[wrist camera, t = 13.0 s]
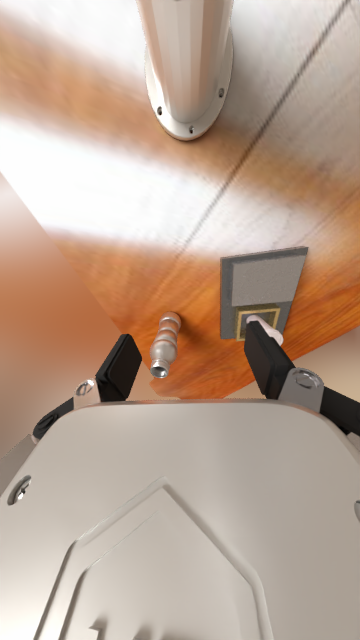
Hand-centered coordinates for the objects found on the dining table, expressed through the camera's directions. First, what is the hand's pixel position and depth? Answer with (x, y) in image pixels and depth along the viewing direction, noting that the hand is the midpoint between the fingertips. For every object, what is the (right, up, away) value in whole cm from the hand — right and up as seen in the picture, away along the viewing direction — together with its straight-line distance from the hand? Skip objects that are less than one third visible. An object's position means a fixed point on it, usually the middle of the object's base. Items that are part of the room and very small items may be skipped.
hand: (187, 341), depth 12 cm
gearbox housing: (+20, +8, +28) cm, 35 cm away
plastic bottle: (-3, +2, +33) cm, 33 cm away
